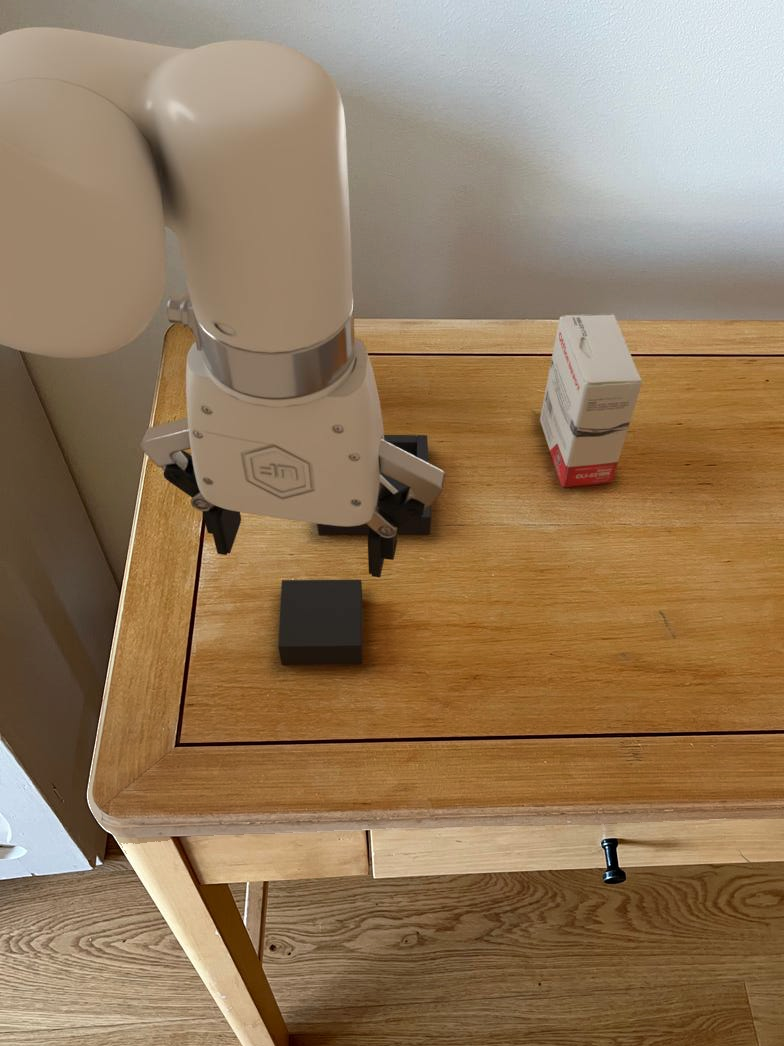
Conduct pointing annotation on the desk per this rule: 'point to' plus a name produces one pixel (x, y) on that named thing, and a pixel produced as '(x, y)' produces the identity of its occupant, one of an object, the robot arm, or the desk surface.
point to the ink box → (588, 398)
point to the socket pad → (416, 527)
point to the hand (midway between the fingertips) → (304, 548)
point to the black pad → (320, 622)
